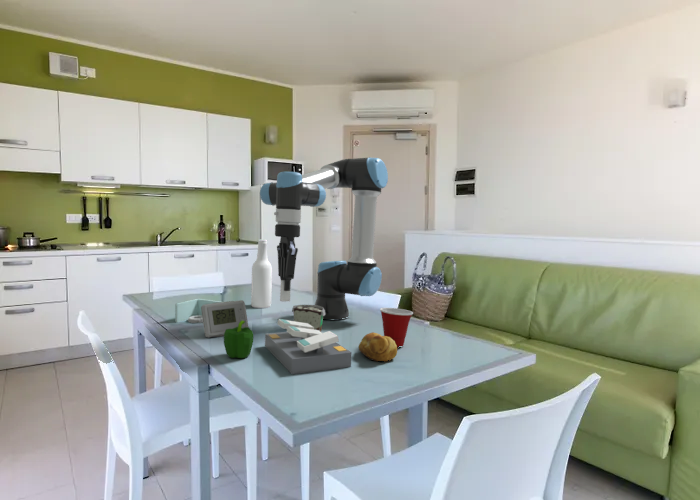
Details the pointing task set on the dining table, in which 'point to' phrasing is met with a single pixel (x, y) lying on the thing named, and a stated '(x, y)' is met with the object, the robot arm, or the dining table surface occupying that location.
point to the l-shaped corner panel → (191, 310)
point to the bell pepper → (238, 341)
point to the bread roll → (378, 347)
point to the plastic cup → (395, 323)
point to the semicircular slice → (309, 315)
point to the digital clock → (223, 317)
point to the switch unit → (306, 354)
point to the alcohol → (261, 278)
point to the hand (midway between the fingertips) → (285, 300)
